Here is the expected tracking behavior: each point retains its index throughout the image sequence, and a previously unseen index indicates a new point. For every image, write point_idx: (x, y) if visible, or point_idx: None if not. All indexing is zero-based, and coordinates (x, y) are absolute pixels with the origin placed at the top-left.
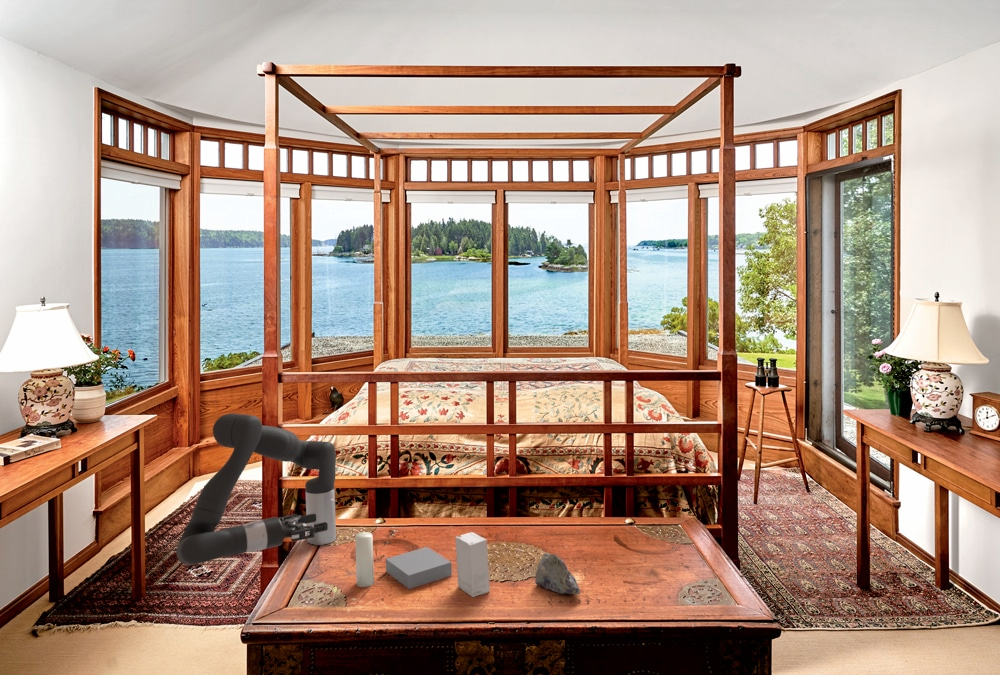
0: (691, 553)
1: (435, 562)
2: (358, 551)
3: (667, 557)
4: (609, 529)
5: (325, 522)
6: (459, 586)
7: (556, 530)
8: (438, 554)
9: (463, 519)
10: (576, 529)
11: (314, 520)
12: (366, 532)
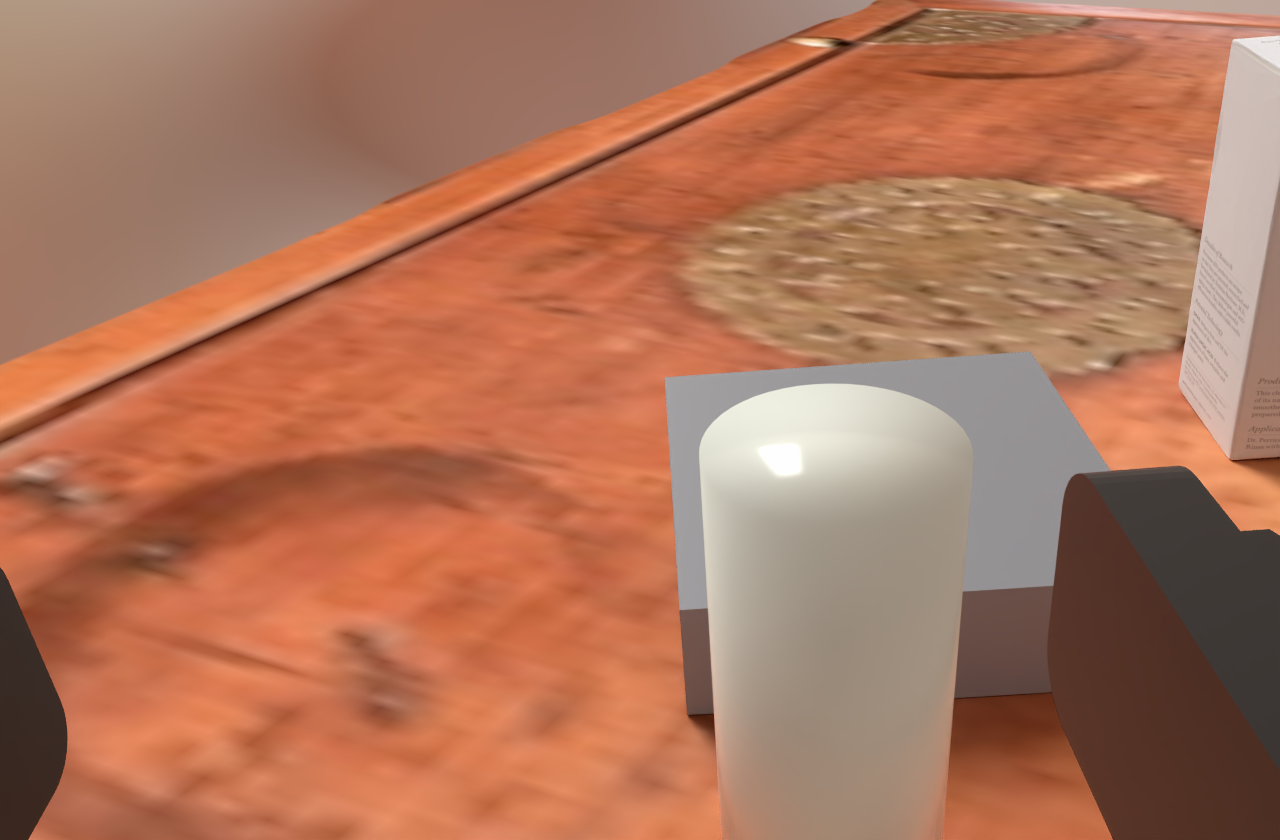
0: (1173, 29)
1: (988, 404)
2: (908, 688)
3: (1180, 51)
4: (851, 69)
5: (1165, 479)
6: (1263, 448)
7: (743, 127)
8: (849, 366)
9: (305, 251)
10: (782, 103)
11: (38, 759)
12: (737, 411)
